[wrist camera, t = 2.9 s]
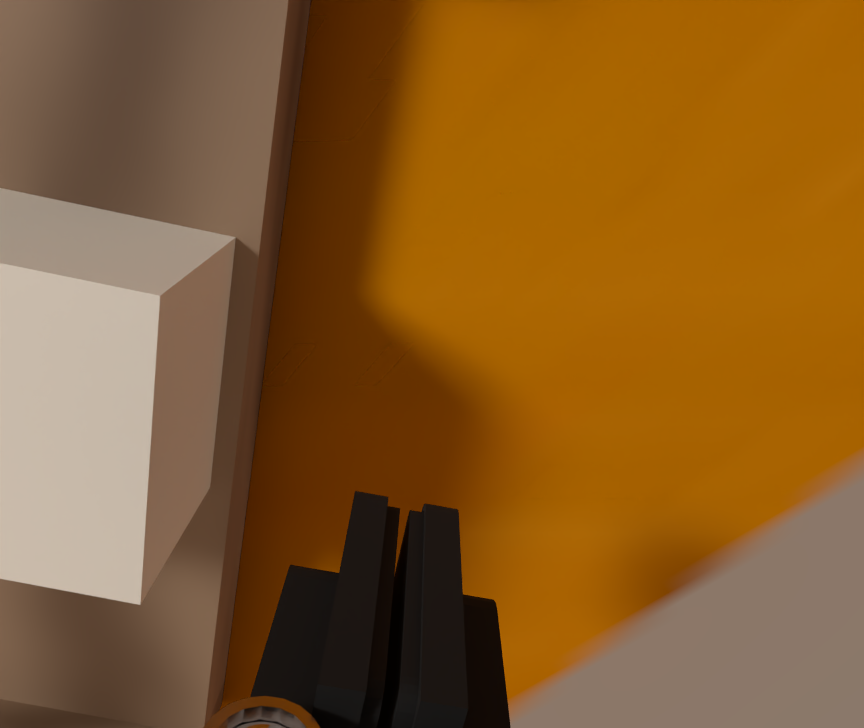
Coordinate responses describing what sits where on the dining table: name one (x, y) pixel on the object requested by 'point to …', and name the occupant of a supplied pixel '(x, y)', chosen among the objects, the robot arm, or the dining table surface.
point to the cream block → (104, 391)
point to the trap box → (246, 324)
